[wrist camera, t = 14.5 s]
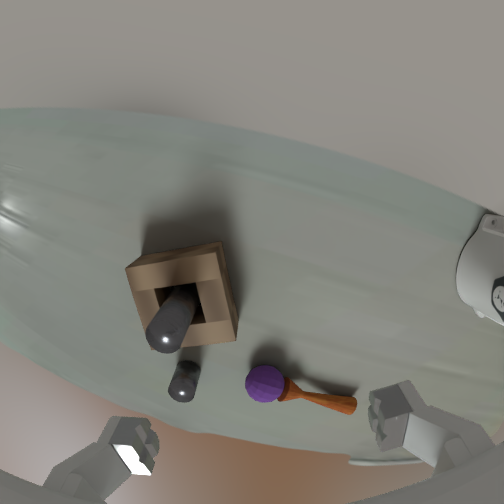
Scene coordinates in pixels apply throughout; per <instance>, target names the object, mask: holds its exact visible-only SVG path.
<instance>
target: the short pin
mask: <svg viewBox="0 0 504 504" xmlns="http://www.w3.org/2000/svg"><path fill="white" fill-rule="evenodd" d="M199 376H200V368H199V366H198V365H197V364H196V363H194V362H192V361H188V360H185V361H181V362H180V363H178V365H177V367H176V370H175V372H174V375H173V378H172V380H171V383H170V385H169V388H168V393H169V395H170V396H171V397H172V398H173V399H174V400H176V401H178V402H190V401H191V400H192V399H193V398H194V395H195V391H196V388H197V384H198V380H199Z"/></svg>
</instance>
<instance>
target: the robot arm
mask: <svg viewBox="0 0 504 504" xmlns="http://www.w3.org/2000/svg"><path fill="white" fill-rule="evenodd" d="M456 284H457V290H458V293H459V295H460V297H461V299H462V300H463V301H464V302H465V303H466V304H467V305H469V306H471V307H473V309H474V311H475V313H476V314H477V316H479V317H481V318H483V317H485V316H487V317H489V318H490V319H492V320H494V321H496V322H497V323H499V324H501V325H503V326H504V216H500V215H493V214H485V215H484V216H483V218H482V220H481V222H480V224H479V227H478V229H477V231H476V232H475V234H474V235H473V236H472V237H471V238H470V240H469V241H468V242H467V244H466V246H465V247H464V249H463V251H462V254H461V256H460V259H459V263H458V267H457V274H456ZM369 401H370V403H371V405H370V406H369V408H368V417H369V423H370V427H371V429H372V431H373V432H375V433H376V439H375V440H376V442H377V445H378V447H379V450H380V452H383V451H387V450H390V449H394V448H397V447H401V446H403V448H405V449H406V450H408V451H409V452H411V453H413V454H414V455H416V456H417V457H419V458H420V459H422V460H423V461H425V462H426V463H428V464H430V465H431V466H433V467H434V468H435V469H434V471H433V474H432V476H431V477H430V478H428V479H425V480H423V481H420V482H417V483H415V484H412V485H409V486H406V487H403V488H401V489H398V490H394V491H391V492H388V493H385V494H382V495H378V496H375V497H371V498H367V499H364V500H360V501H355V502H352V503H347V504H504V441H503V442H502V443H500V444H498V445H496V446H495V444H494V443H493V441H492V440H491V439H490V437H489V436H488V434H487V433H486V432H485V430H484V429H483V427H482V426H481V425H480V424H477V423H474V422H472V421H469V420H466V419H464V418H461V417H459V416H456V415H453V414H451V413H448V412H446V411H443V410H441V409H438V408H436V407H433V406H428V407H427V405H426V404H425V402H424V401H423V399H422V398H421V396H420V395H419V393H418V392H417V390H416V389H415V387H414V386H413V384H412V382H411V381H409V380H406V381H403V382H400V383H397V384H394V385H391V386H387V387H384V388H380V389H376V390H373V391H370V393H369ZM150 427H151V423H150V421H149V420H148V419H147V418H136V417H119V416H112V417H111V418H110V419H109V421H108V423H107V424H106V426H105V428H104V430H103V432H102V434H101V436H100V437H99V439H98V441H97V443H92V444H90V445H89V446H87V447H86V448H84V449H82V450H81V451H79V452H78V453H76V454H74V455H73V456H71V457H69V458H68V459H66V460H65V461H63V462H61V463H60V464H58V465H56V466H55V467H53V469H52V471H51V472H50V474H49V476H48V478H47V479H46V481H45V483H44V484H43V486H39V485H36V484H34V483H31V482H29V481H26V480H24V479H21V478H19V477H16V476H14V475H12V474H9V473H7V472H5V471H3V470H1V469H0V504H107V503H106V502H105V501H104V500H105V499H106V498H107V497H108V496H109V495H110V494H112V493H113V492H114V491H115V490H116V489H117V488H118V487H119V486H120V485H121V484H122V483H123V482H125V481H126V480H127V479H128V478H129V477H130V476H131V475H132V474H131V473H133V474H145V475H151V473H152V470H153V467H154V464H155V462H154V460H153V458H154V457H155V456H156V455H157V454H158V451H159V439H158V436H157V434H156V432H154V431H153V430H151V429H150Z"/></svg>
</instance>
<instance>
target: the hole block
mask: <svg viewBox="0 0 504 504" xmlns="http://www.w3.org/2000/svg"><path fill="white" fill-rule="evenodd" d="M125 271H126V274H127V278H128V281H129V285H130V288H131V291H132V294H133V298H134V301H135V304H136V307H137V310H138V313H139V316H140V319H141V322H142V325H143V328H144V331H145V332H146V328H147V326H148V325H149V323H150V322H151V320H152V319H153V318H154V316H155V315H156V313H157V312H158V310H159V309H160V307H161V306H162V304H163V303H164V301H165V300H166V299H167V297H168V296H169V294H170V293H171V289H170V286H174V285H181V284H187V283H194V282H196V285H197V289H198V293H199V297H200V301H201V306H198V307H197V309H196V312H195V314H194V316H193V319H192V321H191V323H190V326H189V328H188V330H187V333H186V335H185V337H184V340H183V342H182V344H181V347H190V346H200V345H208V344H217V343H225V342H232V341H236V337H237V329H238V321H239V320H238V315H237V311H236V307H235V302H234V297H233V293H232V288H231V284H230V279H229V275H228V270H227V265H226V260H225V256H224V251H223V246H222V241H220V242H214V243H209V244H203V245H198V246H192V247H187V248H181V249H176V250H170V251H165V252H160V253H154V254H149V255H144V256H140V257H139V258H138V259H136V260H135V261H134V262H133V263H131V264H130V265H129V266H127V267H126V268H125ZM149 345H150V344H149ZM150 348H151V350H155V349H154V348H152V347H151V346H150Z"/></svg>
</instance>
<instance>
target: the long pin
mask: <svg viewBox="0 0 504 504" xmlns="http://www.w3.org/2000/svg"><path fill="white" fill-rule="evenodd" d="M199 302H200V297H199V293H198V289H197V285H196V282H194V283H187V284H181V285H176V286H175V287H174V289H173V290H172V291H171V293H170V294H169V296H168V297H167V299H166V300H165V301H164V303H163V304H162V306H161V307H160V309H159V310H158V312H157V313H156V315H155V316H154V318H153V319H152V320H151V322H150V323H149V325H148V326H147V328H146V332H145V334H146V339H147V341H148V343H149V344H150V346H151V347H152V348H154V349H155V350H157V351H159V352H161V353H173V352H175V351H177V350H178V349H179V348H180V347H181V344H182V342H183V340H184V337H185V335H186V333H187V330H188V328H189V326H190V323H191V321H192V319H193V316H194V314H195V312H196V309H197V307H198V305H199Z"/></svg>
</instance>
